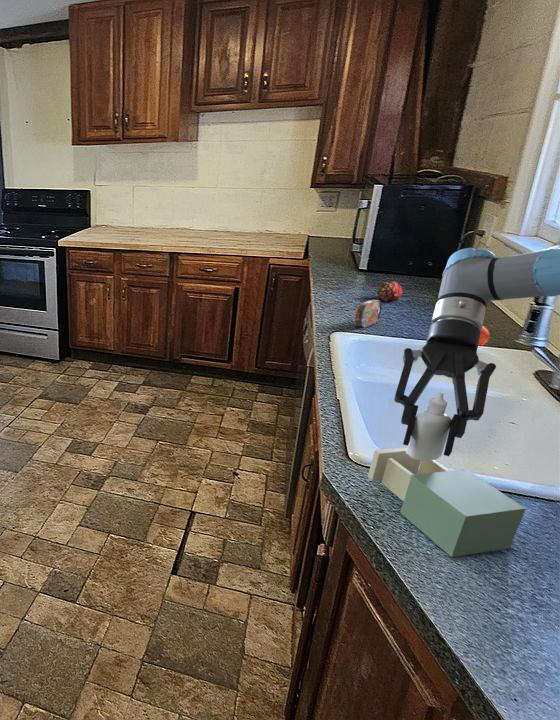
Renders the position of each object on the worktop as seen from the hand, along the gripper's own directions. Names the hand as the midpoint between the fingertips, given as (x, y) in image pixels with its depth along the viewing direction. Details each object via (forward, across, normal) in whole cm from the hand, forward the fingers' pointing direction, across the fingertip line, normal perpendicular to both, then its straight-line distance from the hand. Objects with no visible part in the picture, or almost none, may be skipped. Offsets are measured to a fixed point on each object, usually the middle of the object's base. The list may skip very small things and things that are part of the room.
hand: (426, 447), depth 88 cm
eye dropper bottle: (0, 0, +5) cm, 5 cm away
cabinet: (+10, +6, +6) cm, 14 cm away
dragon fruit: (-97, -18, +114) cm, 151 cm away
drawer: (+5, -1, +11) cm, 12 cm away
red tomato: (-65, +9, +82) cm, 105 cm away
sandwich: (-68, -21, +85) cm, 111 cm away
